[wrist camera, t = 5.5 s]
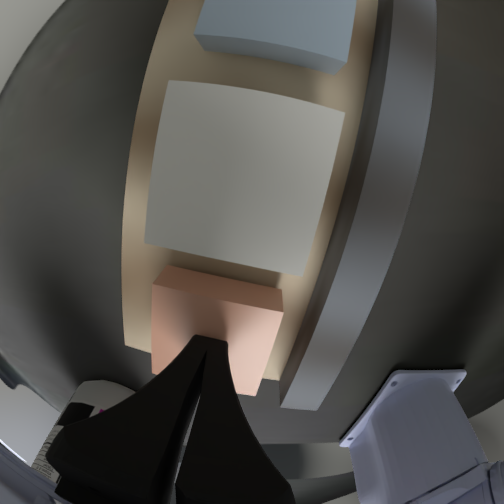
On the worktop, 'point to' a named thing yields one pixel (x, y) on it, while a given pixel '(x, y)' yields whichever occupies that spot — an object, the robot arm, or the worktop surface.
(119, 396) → the supplement can
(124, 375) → the worktop surface
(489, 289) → the worktop surface
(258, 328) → the key terracotta
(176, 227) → the key middle
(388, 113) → the keypad base
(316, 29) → the key slate
